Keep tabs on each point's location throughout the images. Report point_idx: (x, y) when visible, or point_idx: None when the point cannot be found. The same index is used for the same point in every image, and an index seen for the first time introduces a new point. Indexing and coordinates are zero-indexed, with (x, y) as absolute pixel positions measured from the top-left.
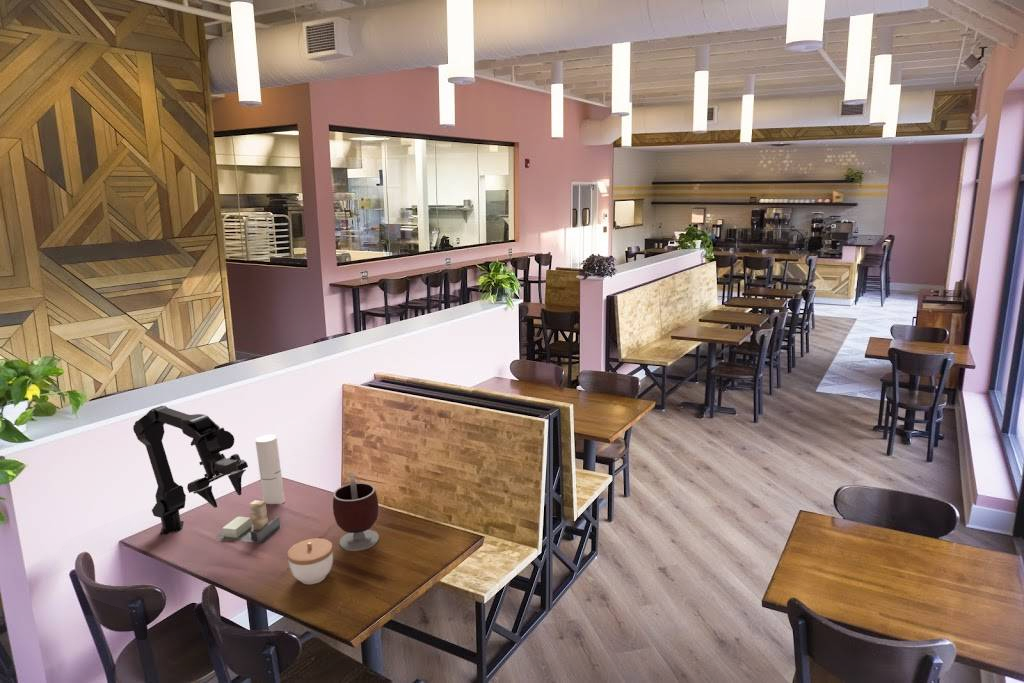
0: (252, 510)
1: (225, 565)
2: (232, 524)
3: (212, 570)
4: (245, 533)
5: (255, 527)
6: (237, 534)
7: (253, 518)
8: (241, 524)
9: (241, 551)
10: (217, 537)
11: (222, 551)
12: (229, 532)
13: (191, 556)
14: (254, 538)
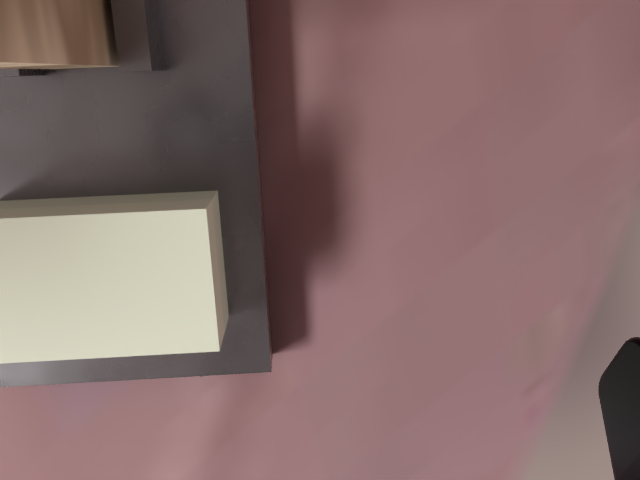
0: (6, 27)
1: (559, 29)
2: (132, 306)
3: (636, 84)
4: (131, 166)
5: (98, 33)
6: (199, 196)
7: (58, 39)
8: (104, 218)
9: (343, 44)
10: (255, 352)
11: (375, 204)
12: (217, 270)
13: (477, 375)
14: (182, 15)
